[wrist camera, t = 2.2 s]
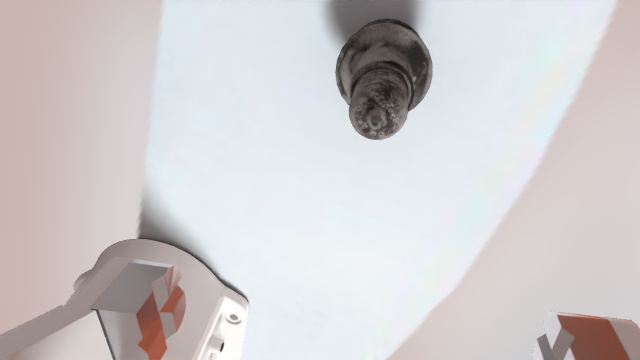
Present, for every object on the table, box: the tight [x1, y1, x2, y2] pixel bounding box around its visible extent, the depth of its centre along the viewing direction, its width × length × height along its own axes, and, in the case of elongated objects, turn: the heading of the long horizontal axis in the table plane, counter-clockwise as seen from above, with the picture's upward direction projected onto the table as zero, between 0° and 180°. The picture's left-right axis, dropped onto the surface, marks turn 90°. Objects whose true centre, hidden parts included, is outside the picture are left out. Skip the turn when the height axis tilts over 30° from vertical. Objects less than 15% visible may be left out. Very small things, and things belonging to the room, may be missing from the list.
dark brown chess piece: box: [335, 19, 432, 140], centre depth 24 cm, size 6×6×12 cm
